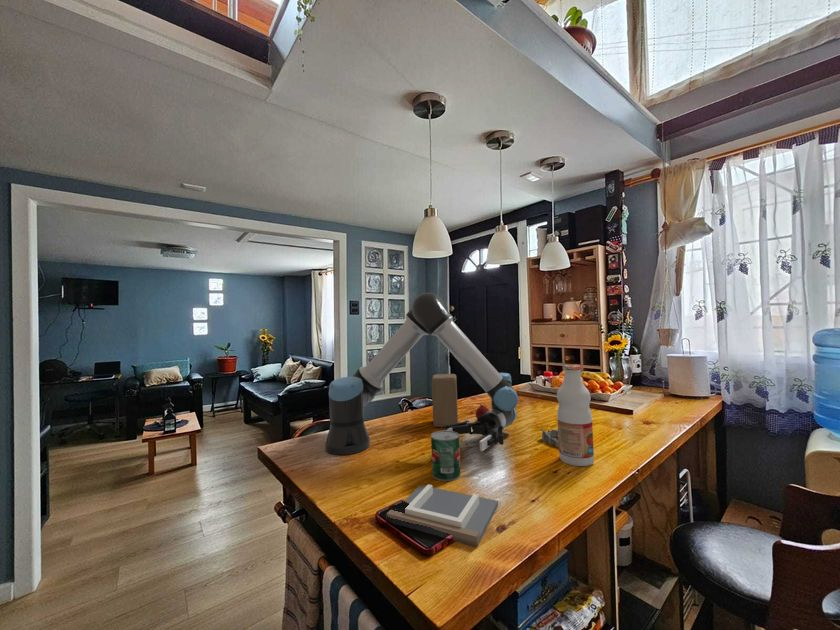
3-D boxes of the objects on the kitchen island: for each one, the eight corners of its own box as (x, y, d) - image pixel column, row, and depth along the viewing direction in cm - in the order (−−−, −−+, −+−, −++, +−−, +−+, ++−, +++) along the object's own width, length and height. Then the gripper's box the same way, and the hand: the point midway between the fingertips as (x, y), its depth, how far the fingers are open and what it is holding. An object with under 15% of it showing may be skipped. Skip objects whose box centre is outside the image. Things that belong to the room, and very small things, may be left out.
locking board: (386, 522, 73) (386, 508, 73) (420, 488, 88) (420, 477, 88) (477, 547, 64) (476, 531, 64) (498, 505, 79) (497, 492, 79)
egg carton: (538, 439, 120) (538, 428, 120) (556, 437, 122) (556, 425, 123) (559, 450, 110) (558, 437, 110) (578, 446, 112) (577, 434, 112)
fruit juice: (555, 453, 107) (551, 363, 107) (588, 454, 105) (583, 363, 106) (563, 466, 97) (559, 368, 98) (599, 467, 96) (594, 367, 96)
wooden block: (458, 420, 146) (456, 373, 146) (458, 427, 136) (456, 377, 137) (434, 420, 147) (432, 373, 147) (433, 427, 137) (431, 377, 138)
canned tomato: (427, 472, 97) (425, 433, 97) (450, 466, 100) (449, 428, 101) (441, 484, 90) (440, 441, 90) (466, 476, 93) (464, 436, 94)
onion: (490, 421, 143) (490, 402, 143) (489, 425, 137) (488, 405, 137) (476, 420, 144) (476, 401, 144) (475, 425, 139) (474, 405, 139)
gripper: (527, 440, 110) (500, 464, 93) (459, 428, 125) (426, 446, 108) (526, 417, 110) (499, 436, 93) (458, 407, 125) (425, 423, 108)
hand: (459, 442), depth 101 cm, fingers open, 13 cm apart
